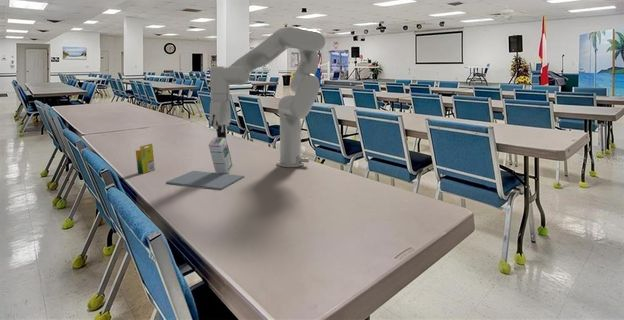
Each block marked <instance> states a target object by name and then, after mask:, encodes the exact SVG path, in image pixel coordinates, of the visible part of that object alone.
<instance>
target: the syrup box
mask: <svg viewBox="0 0 624 320" xmlns="http://www.w3.org/2000/svg"><path fill="white" fill-rule="evenodd" d="M208 148H209V153H210V157H211V160H212V165H213V168H214V173H221V174H229V172H230V171H231V169H232V167H233V166H234V165H233V162H232V157H231V154H230V149H229V148H230V147H229V144H228V139H227V137H226V138H224V137H217V136H216V137H215V136H214V137H213V138H212V139H211V141H210V142H209V143H208Z"/></svg>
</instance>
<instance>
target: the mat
mask: <svg viewBox="0 0 624 320" xmlns="http://www.w3.org/2000/svg"><path fill="white" fill-rule="evenodd" d="M244 178H245V175H241V174H240V175H239V174H231V173H228V174H227V173H216V172H210V171H200V170H191V171H189V172H187V173H183V174H182V175H180V176H176V177H174V178H172V179H169V180H167V181H165V184H170V185H176V186H185V187H194V188H195V187H196V188H202V189H211V190H219V191H222V190H224V189H225V188H227V187H229V186H231V185H233V184H235V183H236V182H238V181H241V180H242V179H244Z"/></svg>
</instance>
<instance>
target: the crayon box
mask: <svg viewBox="0 0 624 320" xmlns="http://www.w3.org/2000/svg"><path fill="white" fill-rule="evenodd" d="M139 148H140V149H137V150H135V156H136V167H137V168H136V169H137V173H138V174H142V175H143V174H146V173H149V172H151V171H155V170H156V168H155V159H154V158H155V157H154V148H153V143H149V144H145V145H141V146H140V147H139Z"/></svg>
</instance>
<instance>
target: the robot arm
mask: <svg viewBox="0 0 624 320" xmlns="http://www.w3.org/2000/svg"><path fill="white" fill-rule="evenodd" d="M325 45H326V38H325V36H324V34H322V32H320V31H317V30H313V29H308V28H302V27H296V26H286V27H281V28H278V29H277V30H276V31H274V32H273V33H272V34H271V35H269V36H268V37H267V38H266V39H265V40H264V41H262V42H261V43H260V44H258V45H257V46H256V47H253V49H250V50H249V51H248V52H247V53H245V54H244V55H242V56H241V57H240V58H238V59H237V60H235V61H233V63H232V64H231V65H229V66H228V67H227V66H222V65H221V66H211V67H210V69H209V82H210V85H209V86H210V103H209V125H210V126H212V128H213V129H214V130H215V132H216V133H217V134H216V135H217V136H216V137H224V138H226V139H227V130H228V129H227V128H228V127H229V126H230V123H231V122H232V111H231V103H230V101H231V100H230V99H231V95H230V93H231V92H230V85H237V86H242V85H246V84H247V83H248V82H249V80H250V77H251V75H250V73H251V72H253V71H255V70H256V69H258V68H261V67H264V66H267V65H268V64H271V63H272V62H273V61H274V60H276V59H277V58H278V57H279V56H280V55H281V54H283V53H284V52H285V51H287V49H298V52H299V56H300V58H299V63H298V65H297V67H296V70H295V72H294V74H293V77H292V78H291V81H290V86H289V87H290V90H291V91H292V93H294V95H291V94H290V95H288V94H287V95H284V96H282V97H281V98H280V99H279V100H278V104H277V108H278V109H277V112H278V117H279V118H278V119H279V158H280V159H279V160H277V161H276V165H277V166H278V167H282V168H298V167H303V166H304V165H305V163H310V158H309V157H304V156H303V155H304V154H303V153H302V152H301V151H302V148H301V147H302V137H301V136H302V123H301V120H302V119H304V118H306V117H307V116H308V114H309V113H310V112H311V110H312V107H313V106H314V103H315V102H316V99H317V96H318V94H319V92H320V87H321V86H320V85H321V84H320V80H319V78H318V77H317V76H316V73H317V71H318V68H319V63H320V59H319V53H318V52H320V51H322V50H323V48H324V47H325Z"/></svg>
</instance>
